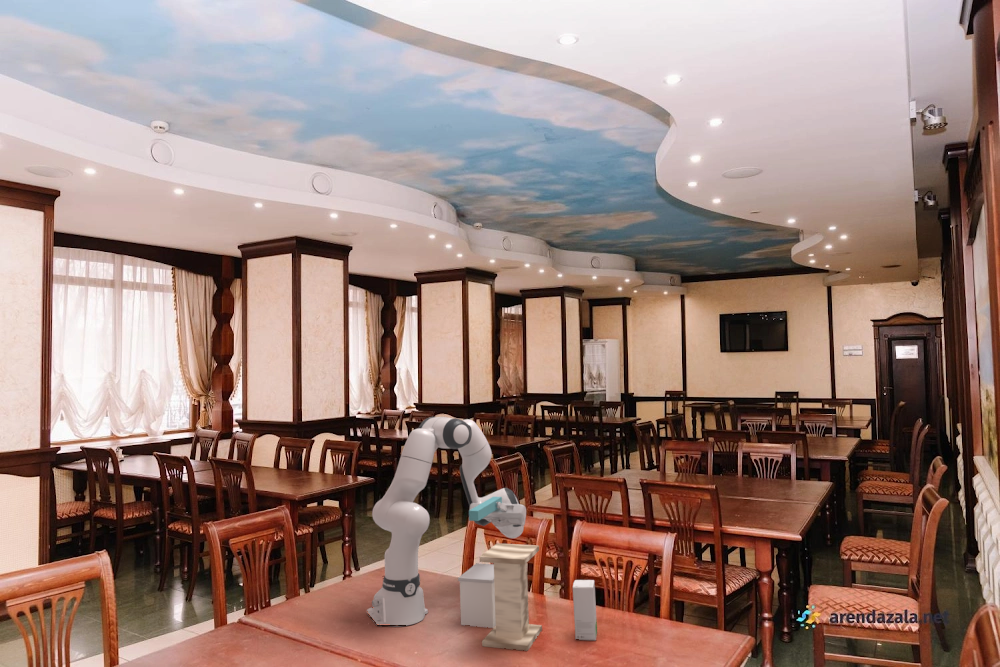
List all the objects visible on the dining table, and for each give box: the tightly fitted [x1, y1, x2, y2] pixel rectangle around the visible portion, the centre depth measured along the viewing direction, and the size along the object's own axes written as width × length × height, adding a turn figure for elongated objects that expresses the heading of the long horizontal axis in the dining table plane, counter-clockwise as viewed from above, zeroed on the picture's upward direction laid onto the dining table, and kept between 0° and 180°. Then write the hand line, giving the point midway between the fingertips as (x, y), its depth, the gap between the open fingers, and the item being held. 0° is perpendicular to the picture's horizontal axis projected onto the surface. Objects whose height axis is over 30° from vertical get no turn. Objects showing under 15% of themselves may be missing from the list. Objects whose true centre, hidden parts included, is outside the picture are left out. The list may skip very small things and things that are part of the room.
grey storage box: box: [457, 562, 496, 629], centre depth 220 cm, size 17×12×15 cm
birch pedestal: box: [479, 543, 543, 652], centre depth 202 cm, size 16×14×26 cm
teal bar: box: [468, 497, 502, 522], centre depth 225 cm, size 24×3×3 cm, turn 161°
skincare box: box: [572, 579, 598, 641], centre depth 202 cm, size 8×7×16 cm
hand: (491, 503), depth 230 cm, fingers closed on teal bar, 3 cm apart
